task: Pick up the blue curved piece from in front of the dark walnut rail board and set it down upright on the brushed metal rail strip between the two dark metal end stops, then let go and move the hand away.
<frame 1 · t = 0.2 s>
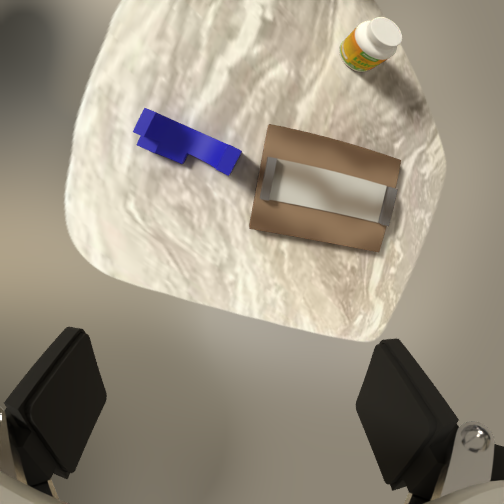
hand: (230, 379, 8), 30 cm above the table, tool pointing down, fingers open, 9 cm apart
supplement bottle: (356, 55, 31), on the table
rail board: (326, 189, 37), on the table
blue curved piece: (191, 147, 35), on the table
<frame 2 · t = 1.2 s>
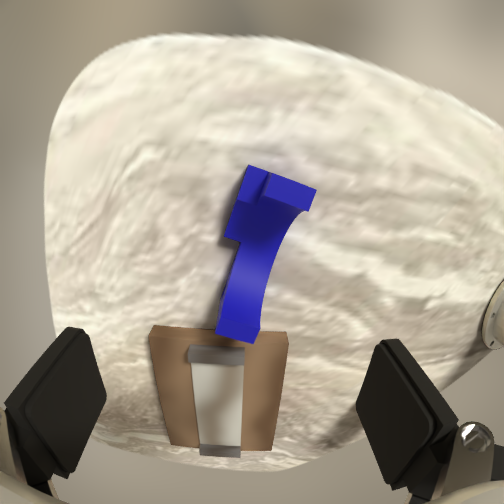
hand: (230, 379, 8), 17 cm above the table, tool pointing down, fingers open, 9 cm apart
rail board: (219, 394, 30), on the table
blue curved piece: (250, 239, 25), on the table
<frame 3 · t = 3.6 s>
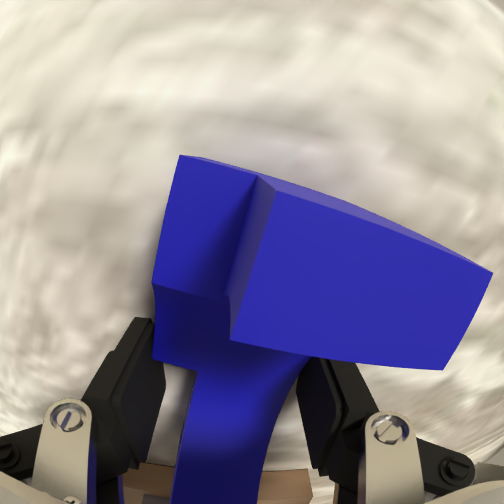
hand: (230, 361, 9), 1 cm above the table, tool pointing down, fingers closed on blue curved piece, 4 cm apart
blue curved piece: (224, 346, 10), on the table, touching gripper
when the fingers open (4 cm above the table, at t = 9.8 s): blue curved piece drops 1 cm, resting on rail board.
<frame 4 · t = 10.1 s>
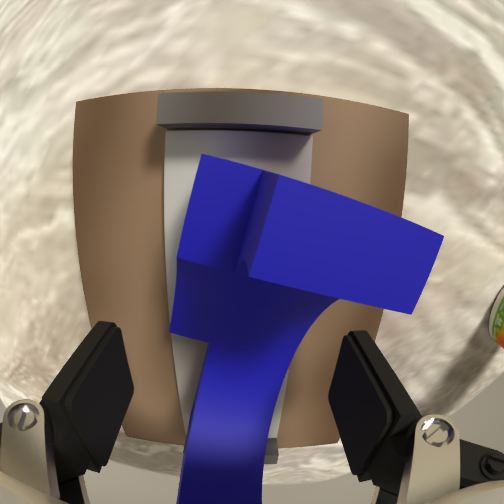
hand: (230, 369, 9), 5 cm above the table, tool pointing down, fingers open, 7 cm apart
rail board: (233, 303, 14), on the table
blue curved piece: (232, 323, 11), point 2 cm above the table, touching rail board
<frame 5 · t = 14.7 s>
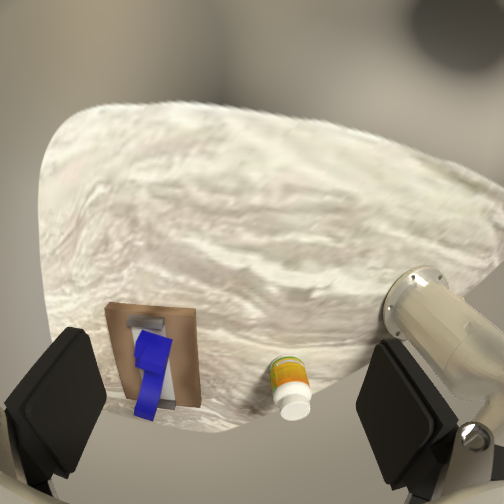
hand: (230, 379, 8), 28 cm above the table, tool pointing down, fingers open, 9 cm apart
supplement bottle: (286, 366, 43), on the table
rail board: (157, 356, 41), on the table
blue curved piece: (152, 364, 39), point 2 cm above the table, touching rail board
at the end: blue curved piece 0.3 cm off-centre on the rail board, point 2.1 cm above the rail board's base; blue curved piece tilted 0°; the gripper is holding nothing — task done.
